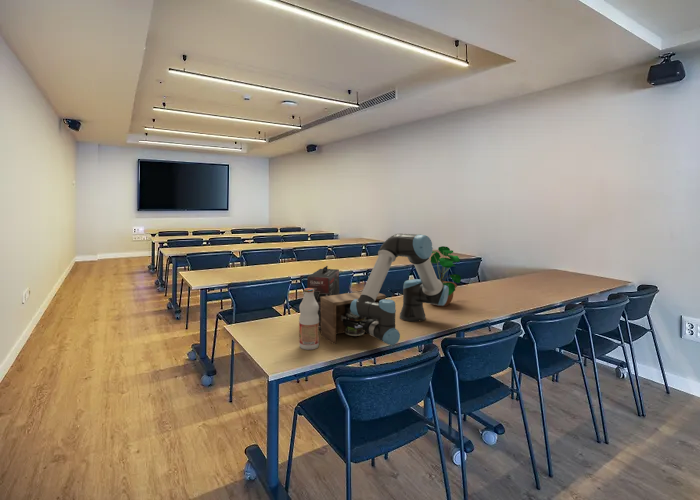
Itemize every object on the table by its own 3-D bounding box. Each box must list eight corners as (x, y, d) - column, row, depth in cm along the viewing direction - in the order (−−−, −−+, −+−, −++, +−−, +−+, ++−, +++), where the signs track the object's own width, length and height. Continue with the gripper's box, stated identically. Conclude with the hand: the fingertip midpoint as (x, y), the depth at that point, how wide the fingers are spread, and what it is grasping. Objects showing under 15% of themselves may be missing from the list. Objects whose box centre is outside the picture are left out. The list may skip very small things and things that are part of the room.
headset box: (329, 331, 205) (329, 270, 201) (306, 330, 208) (306, 269, 204) (340, 318, 229) (340, 263, 225) (319, 317, 231) (319, 262, 227)
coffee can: (361, 336, 193) (361, 309, 192) (342, 334, 196) (342, 307, 195) (366, 330, 203) (367, 304, 201) (348, 328, 206) (348, 302, 204)
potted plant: (434, 312, 243) (436, 250, 239) (415, 301, 271) (417, 245, 266) (477, 309, 251) (480, 249, 246) (455, 298, 279) (457, 244, 274)
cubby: (370, 326, 215) (371, 290, 212) (384, 333, 203) (385, 295, 201) (320, 335, 199) (320, 296, 197) (333, 343, 188) (333, 302, 185)
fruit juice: (308, 351, 177) (308, 292, 174) (295, 346, 184) (294, 289, 180) (323, 346, 184) (323, 288, 181) (310, 341, 191) (309, 285, 187)
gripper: (354, 340, 178) (331, 326, 197) (393, 332, 190) (368, 320, 209) (354, 324, 177) (331, 312, 196) (393, 317, 189) (368, 306, 208)
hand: (350, 316), depth 202 cm, fingers closed on coffee can, 10 cm apart
